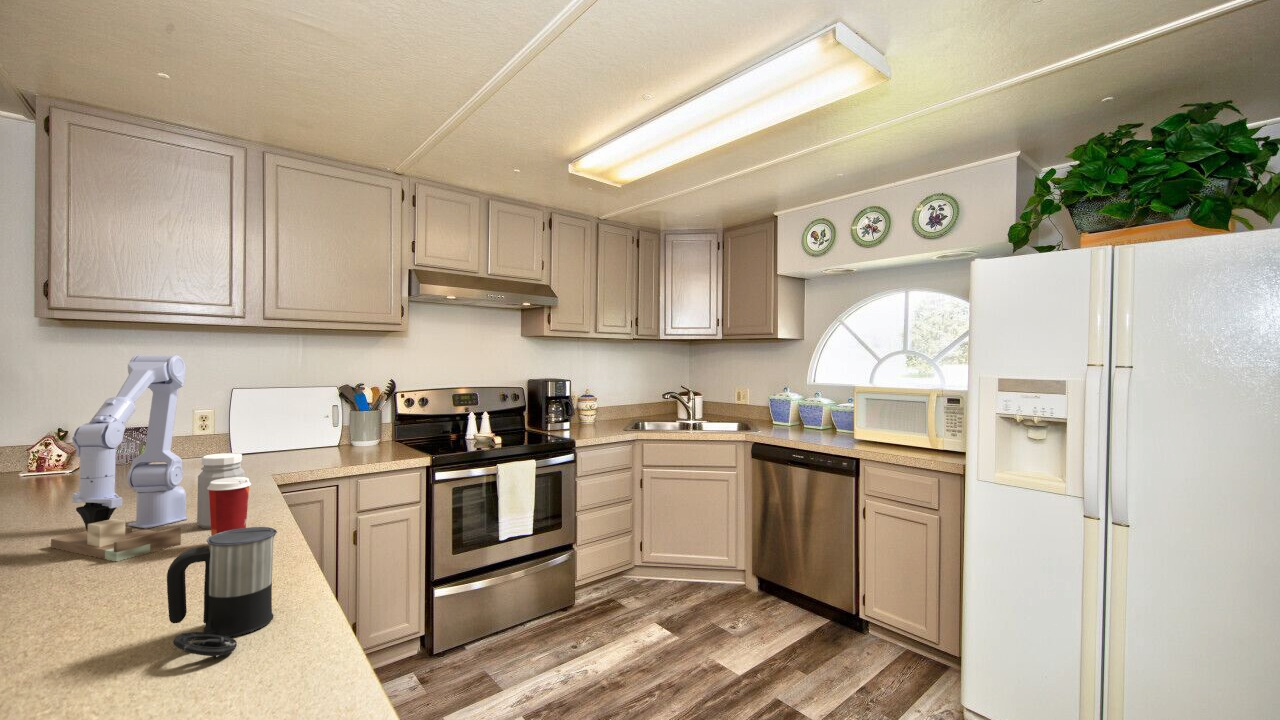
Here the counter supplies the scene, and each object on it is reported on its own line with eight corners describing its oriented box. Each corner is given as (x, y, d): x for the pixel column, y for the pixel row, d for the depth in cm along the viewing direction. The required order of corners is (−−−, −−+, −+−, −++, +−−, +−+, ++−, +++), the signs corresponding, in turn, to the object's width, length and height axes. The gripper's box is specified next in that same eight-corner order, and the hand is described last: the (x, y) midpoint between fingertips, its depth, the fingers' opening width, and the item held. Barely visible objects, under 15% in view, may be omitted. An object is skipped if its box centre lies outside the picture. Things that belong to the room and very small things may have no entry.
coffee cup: (258, 539, 130) (259, 477, 130) (229, 551, 122) (230, 484, 122) (226, 537, 131) (227, 475, 131) (195, 549, 123) (196, 483, 123)
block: (112, 538, 123) (113, 518, 123) (125, 540, 122) (125, 520, 122) (87, 544, 119) (87, 524, 119) (99, 547, 118) (99, 526, 118)
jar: (187, 527, 139) (188, 457, 139) (226, 517, 148) (227, 451, 148) (215, 531, 136) (216, 459, 136) (253, 520, 145) (254, 453, 145)
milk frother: (264, 607, 95) (266, 522, 95) (297, 637, 85) (298, 542, 85) (157, 638, 84) (159, 542, 84) (179, 676, 74) (181, 568, 74)
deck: (116, 532, 134) (117, 516, 134) (180, 544, 126) (180, 527, 126) (50, 547, 123) (51, 530, 123) (116, 561, 115) (116, 543, 115)
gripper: (55, 476, 121) (53, 537, 121) (94, 482, 116) (92, 545, 116) (95, 471, 127) (94, 528, 127) (134, 476, 122) (133, 536, 122)
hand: (96, 536), depth 122 cm, fingers closed
